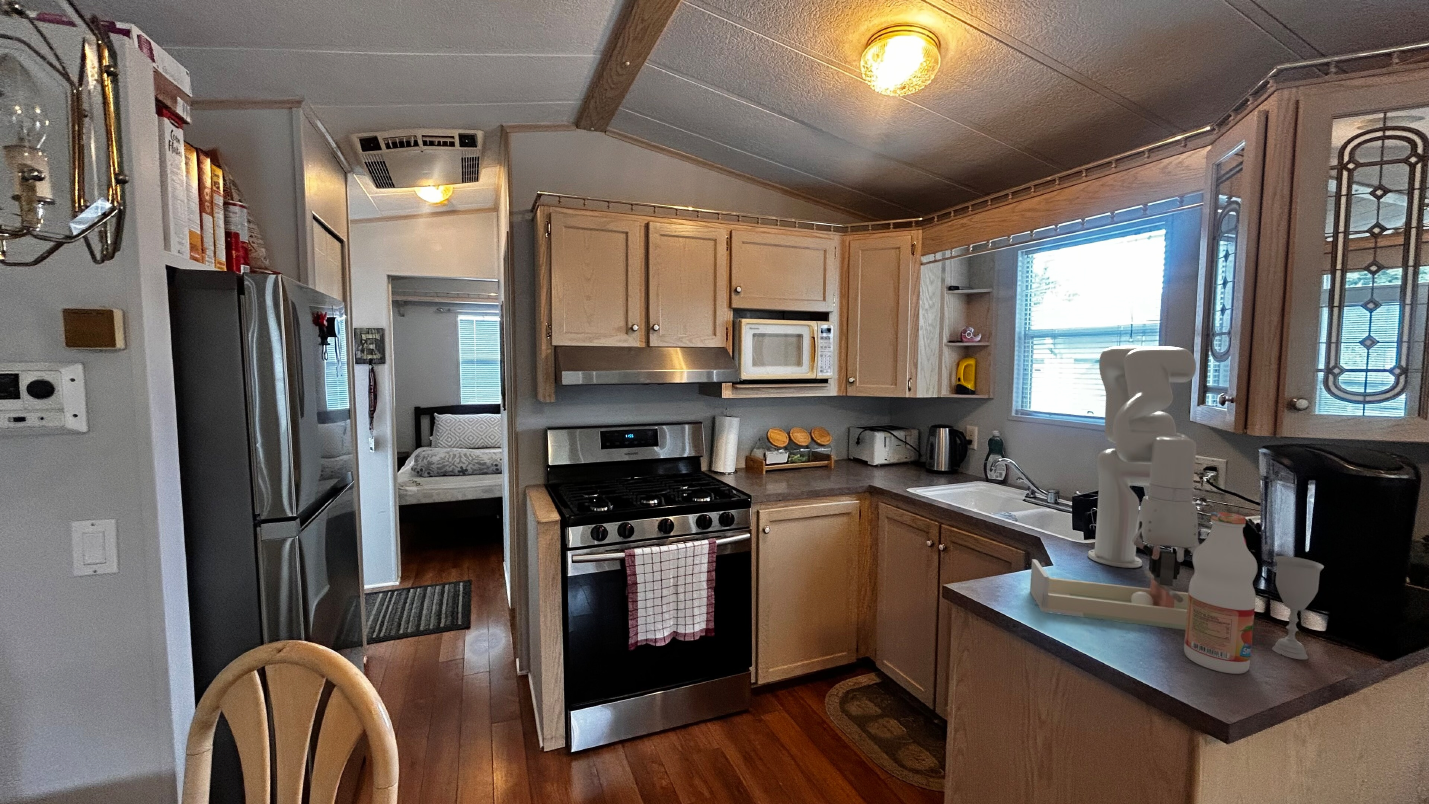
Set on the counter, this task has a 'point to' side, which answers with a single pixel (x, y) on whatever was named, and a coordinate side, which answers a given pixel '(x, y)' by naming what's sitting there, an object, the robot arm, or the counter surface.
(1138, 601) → the ball
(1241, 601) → the fruit juice
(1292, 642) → the chalice
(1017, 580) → the counter surface
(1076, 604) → the cream long tray
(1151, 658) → the counter surface
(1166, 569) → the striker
